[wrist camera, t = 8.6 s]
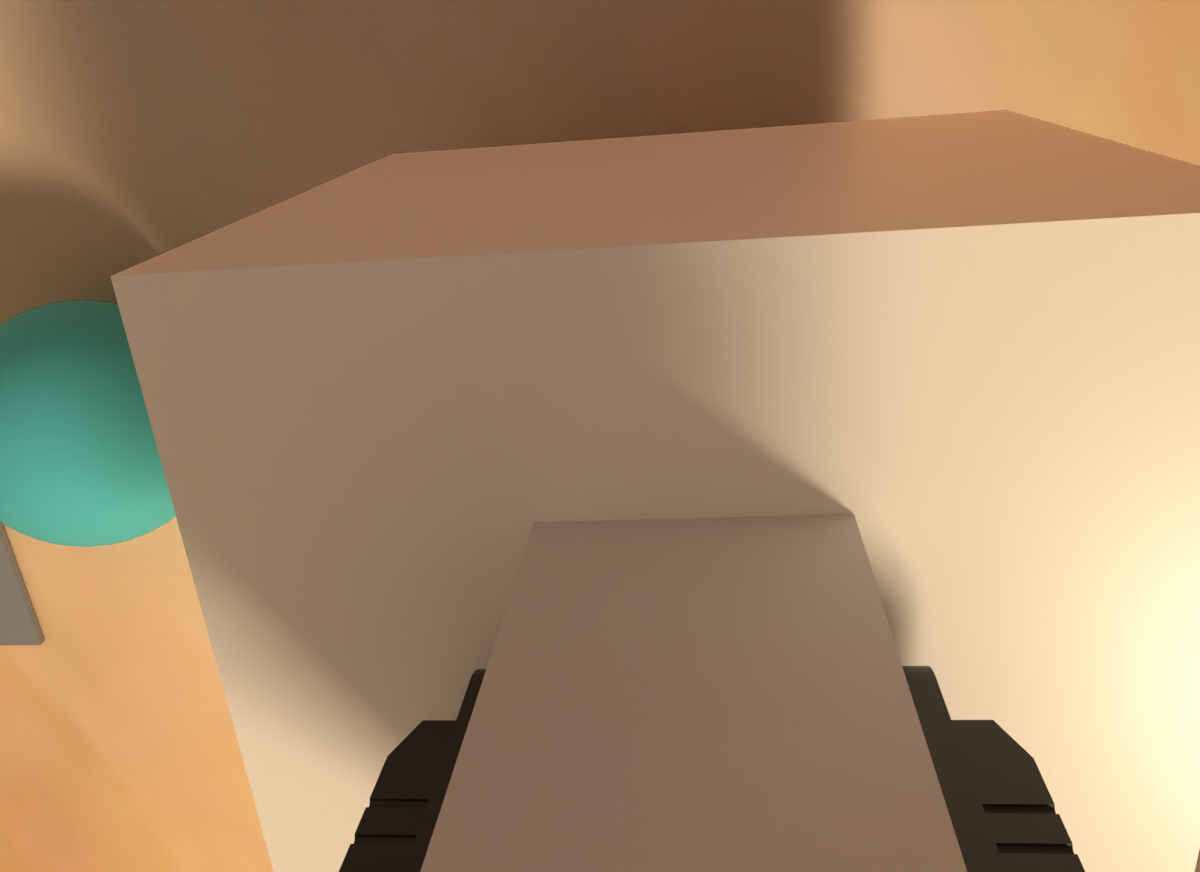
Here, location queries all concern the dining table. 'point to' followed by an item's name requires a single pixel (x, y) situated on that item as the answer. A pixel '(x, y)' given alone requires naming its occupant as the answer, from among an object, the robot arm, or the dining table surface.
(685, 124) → the dining table surface
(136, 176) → the dining table surface
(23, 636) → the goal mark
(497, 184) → the cream plinth with post
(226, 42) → the dining table surface
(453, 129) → the dining table surface
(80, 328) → the ball
